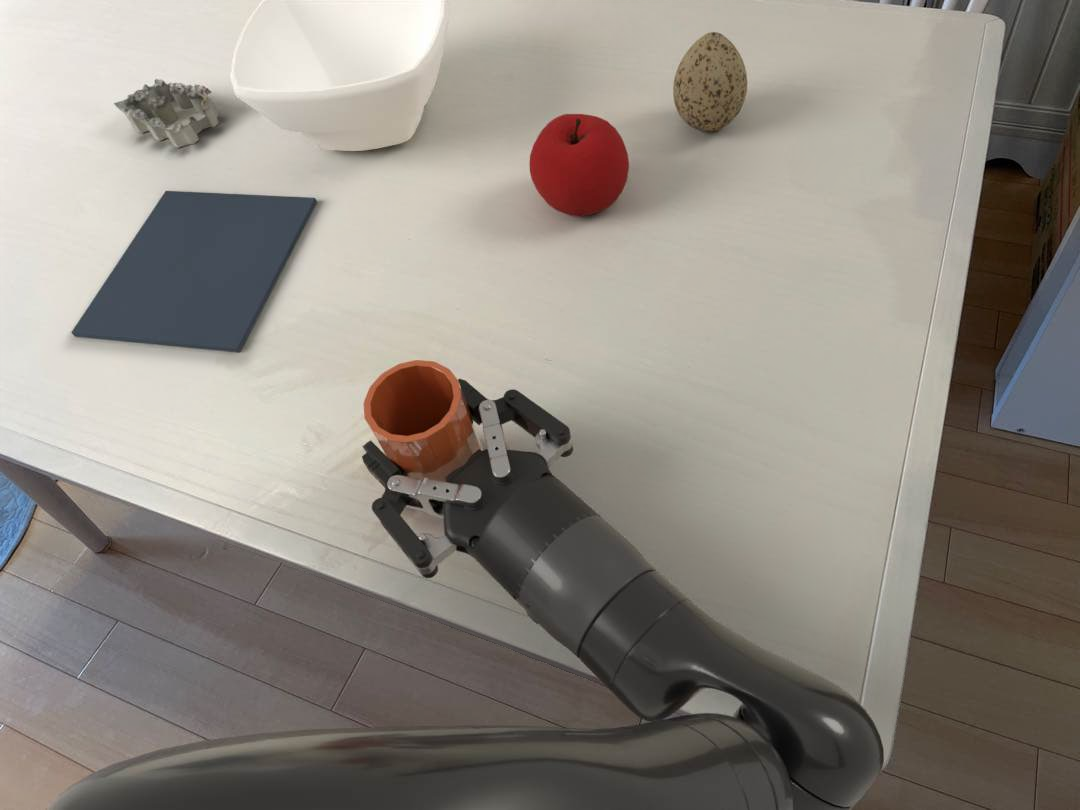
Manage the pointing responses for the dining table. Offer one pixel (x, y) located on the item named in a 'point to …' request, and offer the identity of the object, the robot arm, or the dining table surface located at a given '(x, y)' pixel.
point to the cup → (421, 419)
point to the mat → (198, 270)
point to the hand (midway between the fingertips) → (409, 417)
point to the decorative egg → (710, 83)
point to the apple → (579, 164)
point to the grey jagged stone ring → (170, 111)
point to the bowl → (342, 67)
